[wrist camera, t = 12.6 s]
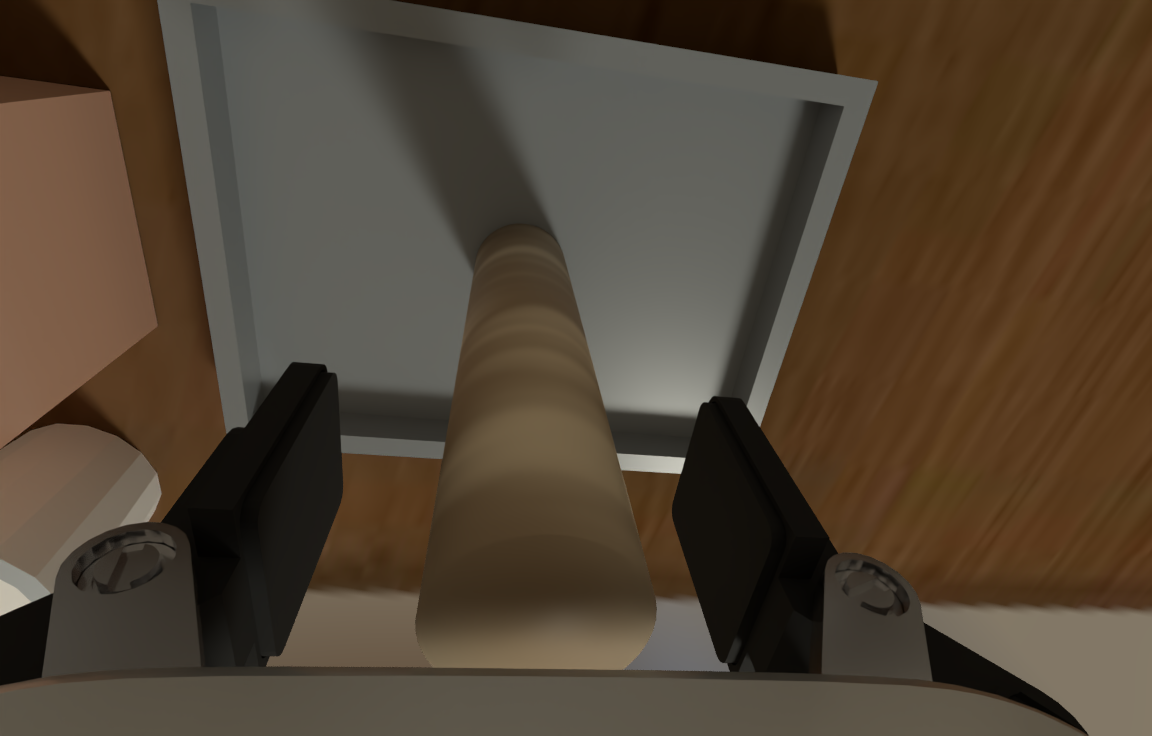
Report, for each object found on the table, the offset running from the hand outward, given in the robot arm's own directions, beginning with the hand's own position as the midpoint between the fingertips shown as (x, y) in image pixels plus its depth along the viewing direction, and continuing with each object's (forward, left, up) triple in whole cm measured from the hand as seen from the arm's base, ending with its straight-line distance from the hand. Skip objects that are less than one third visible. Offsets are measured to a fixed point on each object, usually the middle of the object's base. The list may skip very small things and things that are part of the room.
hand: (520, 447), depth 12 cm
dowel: (0, 0, -11) cm, 11 cm away
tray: (0, 0, -12) cm, 12 cm away
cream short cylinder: (+19, -8, -12) cm, 24 cm away
